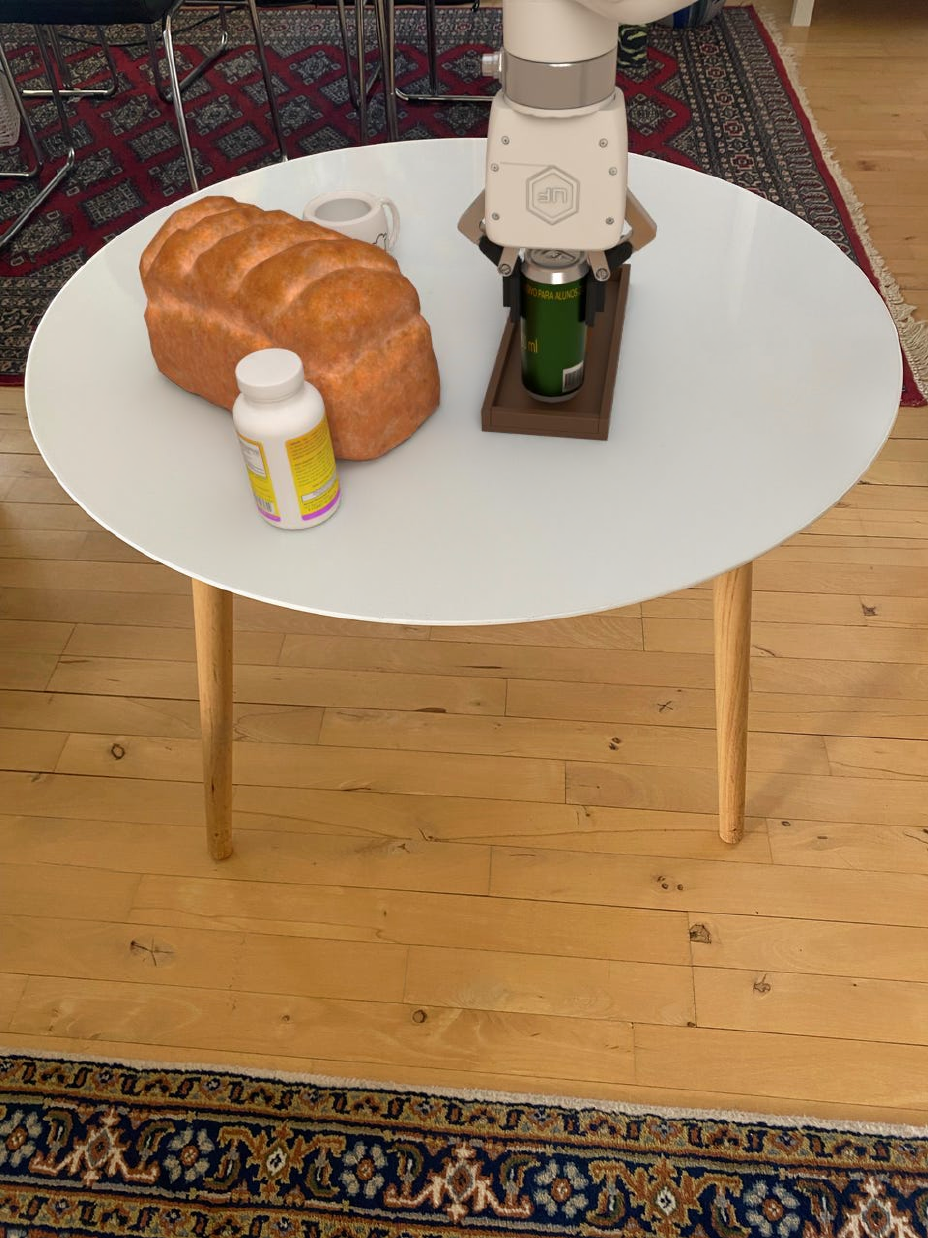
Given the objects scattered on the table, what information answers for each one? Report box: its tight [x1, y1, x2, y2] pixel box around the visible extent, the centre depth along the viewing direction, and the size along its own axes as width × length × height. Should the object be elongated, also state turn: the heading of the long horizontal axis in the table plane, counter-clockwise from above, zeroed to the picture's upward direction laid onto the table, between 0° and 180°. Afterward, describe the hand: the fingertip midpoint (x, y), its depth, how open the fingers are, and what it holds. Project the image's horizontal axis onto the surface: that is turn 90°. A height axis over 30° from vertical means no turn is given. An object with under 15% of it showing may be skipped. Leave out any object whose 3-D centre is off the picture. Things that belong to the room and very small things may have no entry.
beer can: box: [521, 248, 590, 403], centre depth 80 cm, size 5×5×12 cm
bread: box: [138, 195, 441, 462], centre depth 83 cm, size 14×26×16 cm, turn 52°
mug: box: [301, 189, 401, 254], centre depth 100 cm, size 12×8×8 cm
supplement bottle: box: [232, 348, 342, 531], centre depth 74 cm, size 7×7×13 cm
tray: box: [480, 263, 632, 441], centre depth 90 cm, size 11×26×2 cm, turn 170°
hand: (554, 313), depth 80 cm, fingers closed on beer can, 5 cm apart
